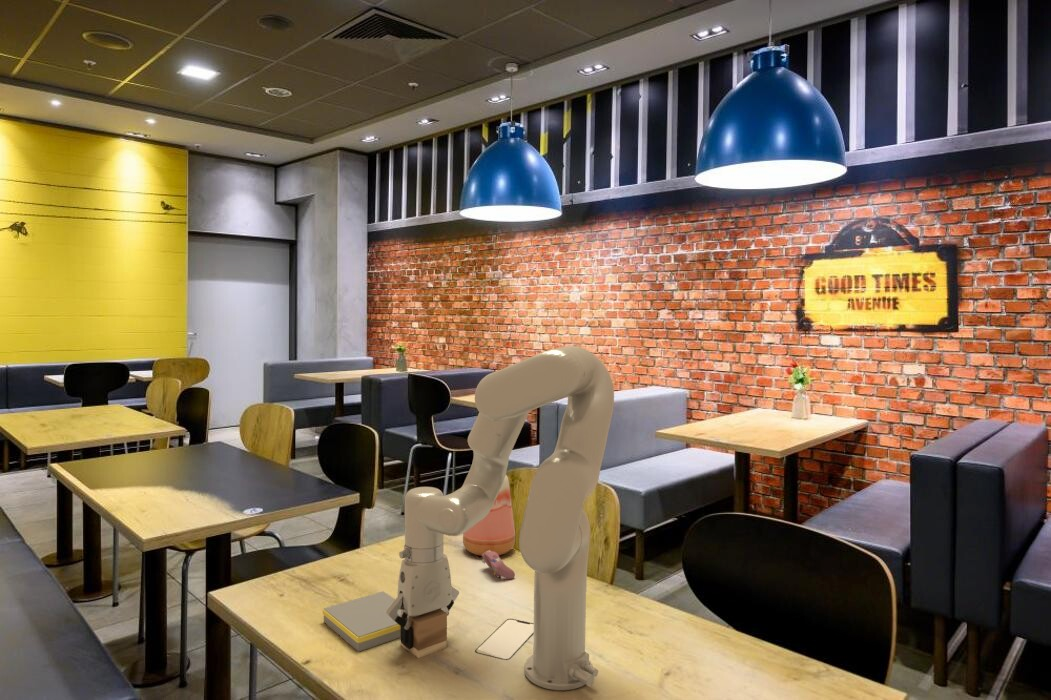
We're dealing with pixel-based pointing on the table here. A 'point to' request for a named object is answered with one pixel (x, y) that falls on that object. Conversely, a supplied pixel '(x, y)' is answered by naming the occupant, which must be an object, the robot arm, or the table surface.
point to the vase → (493, 527)
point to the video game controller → (497, 565)
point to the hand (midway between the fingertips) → (423, 639)
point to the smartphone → (507, 639)
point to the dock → (364, 621)
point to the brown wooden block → (429, 633)
